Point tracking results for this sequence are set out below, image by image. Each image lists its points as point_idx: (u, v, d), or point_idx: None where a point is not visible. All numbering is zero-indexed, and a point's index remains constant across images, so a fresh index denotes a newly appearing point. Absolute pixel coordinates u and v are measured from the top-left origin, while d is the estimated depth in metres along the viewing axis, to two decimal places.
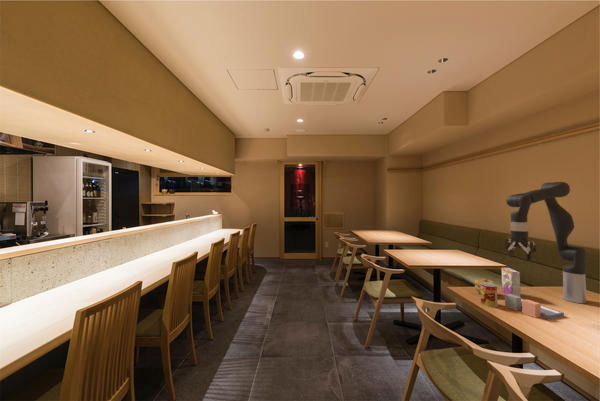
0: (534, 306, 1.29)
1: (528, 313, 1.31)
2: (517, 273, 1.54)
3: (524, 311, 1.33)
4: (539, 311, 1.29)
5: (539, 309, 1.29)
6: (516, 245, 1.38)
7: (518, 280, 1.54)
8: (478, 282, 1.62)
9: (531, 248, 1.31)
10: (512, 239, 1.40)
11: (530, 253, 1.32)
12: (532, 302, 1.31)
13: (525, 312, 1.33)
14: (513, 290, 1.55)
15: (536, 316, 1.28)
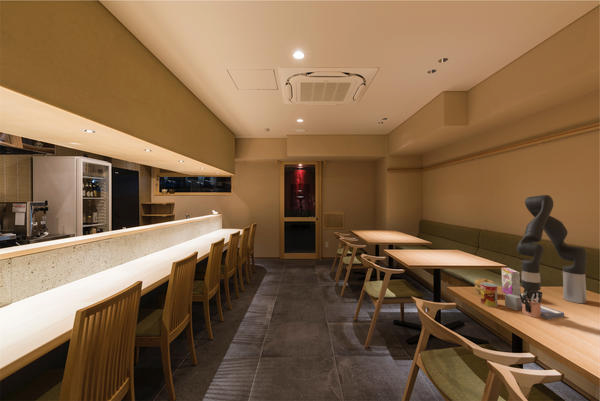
0: (534, 306, 1.29)
1: (528, 313, 1.31)
2: (517, 273, 1.54)
3: (524, 311, 1.33)
4: (539, 311, 1.29)
5: (539, 309, 1.29)
6: None
7: (518, 280, 1.54)
8: (478, 282, 1.62)
9: (540, 298, 1.32)
10: (529, 291, 1.30)
11: None
12: (532, 302, 1.31)
13: (525, 312, 1.33)
14: (513, 290, 1.55)
15: (536, 316, 1.28)
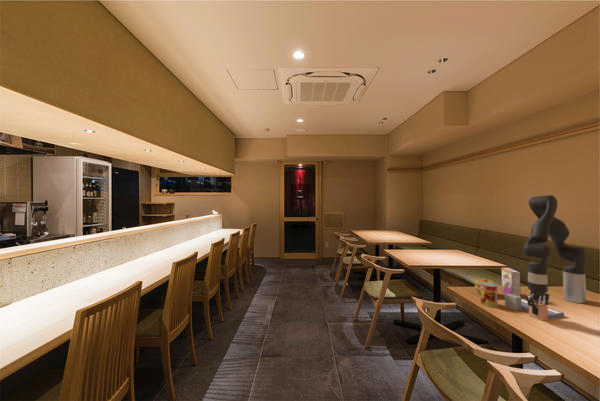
0: (541, 308, 1.26)
1: (535, 316, 1.28)
2: (517, 273, 1.54)
3: (531, 313, 1.30)
4: (546, 314, 1.26)
5: (546, 312, 1.26)
6: None
7: (518, 280, 1.54)
8: (478, 282, 1.62)
9: (547, 300, 1.29)
10: (535, 293, 1.27)
11: None
12: (539, 304, 1.28)
13: (532, 315, 1.30)
14: (513, 290, 1.55)
15: (543, 319, 1.25)
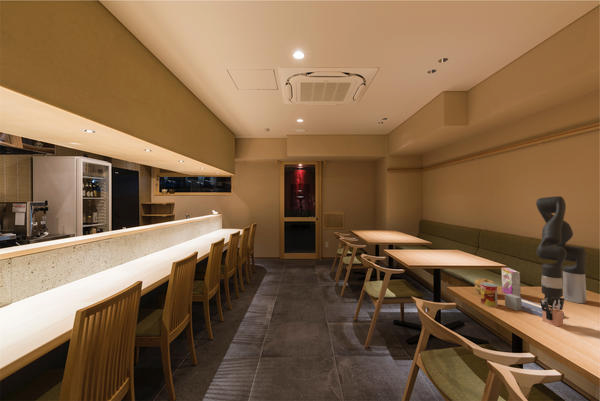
0: (556, 313, 1.20)
1: (549, 321, 1.22)
2: (517, 273, 1.54)
3: (544, 319, 1.24)
4: (561, 319, 1.20)
5: (561, 317, 1.20)
6: None
7: (518, 280, 1.54)
8: (478, 282, 1.62)
9: (562, 305, 1.23)
10: (550, 298, 1.21)
11: None
12: (553, 309, 1.22)
13: (546, 320, 1.24)
14: (513, 290, 1.55)
15: (558, 324, 1.20)
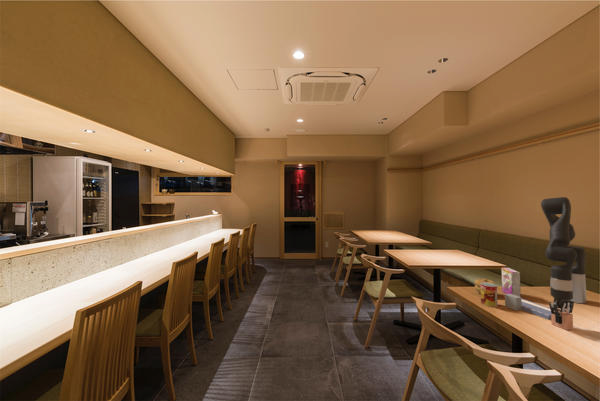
0: (565, 316, 1.16)
1: (558, 325, 1.19)
2: (517, 273, 1.54)
3: (554, 322, 1.21)
4: (571, 323, 1.17)
5: (571, 320, 1.17)
6: None
7: (518, 280, 1.54)
8: (478, 282, 1.62)
9: (572, 308, 1.19)
10: (559, 301, 1.17)
11: None
12: (563, 312, 1.19)
13: (555, 323, 1.20)
14: (513, 290, 1.55)
15: (568, 328, 1.16)
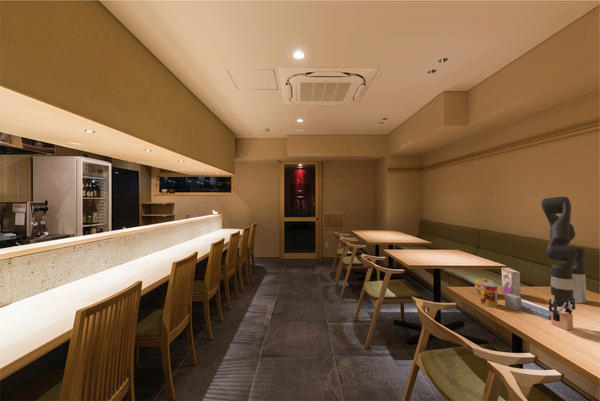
0: (565, 316, 1.16)
1: (558, 324, 1.19)
2: (517, 273, 1.54)
3: (553, 322, 1.21)
4: (571, 322, 1.17)
5: (571, 320, 1.17)
6: None
7: (518, 280, 1.54)
8: (478, 282, 1.62)
9: (574, 304, 1.20)
10: (560, 299, 1.17)
11: None
12: (563, 312, 1.19)
13: (555, 323, 1.20)
14: (513, 290, 1.55)
15: (568, 328, 1.16)
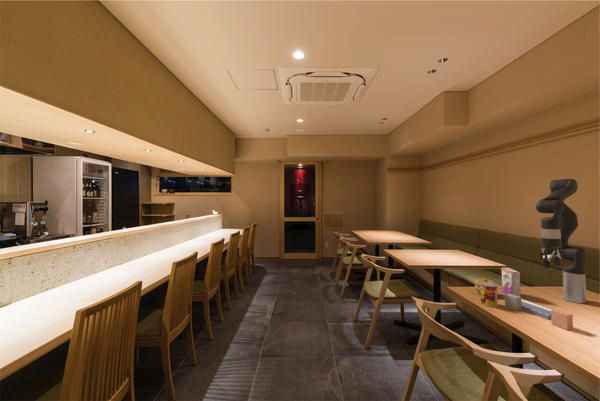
0: (565, 316, 1.16)
1: (558, 324, 1.19)
2: (517, 273, 1.54)
3: (553, 322, 1.21)
4: (571, 322, 1.17)
5: (571, 320, 1.17)
6: None
7: (518, 280, 1.54)
8: (478, 282, 1.62)
9: (562, 253, 1.33)
10: (550, 248, 1.30)
11: None
12: (563, 312, 1.19)
13: (555, 323, 1.20)
14: (513, 290, 1.55)
15: (568, 328, 1.16)
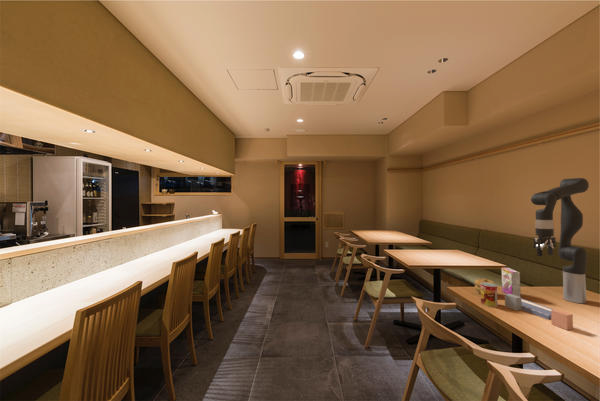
0: (565, 316, 1.16)
1: (558, 324, 1.19)
2: (517, 273, 1.54)
3: (553, 322, 1.21)
4: (571, 322, 1.17)
5: (571, 320, 1.17)
6: None
7: (518, 280, 1.54)
8: (478, 282, 1.62)
9: (555, 243, 1.41)
10: (543, 238, 1.39)
11: None
12: (563, 312, 1.19)
13: (555, 323, 1.20)
14: (513, 290, 1.55)
15: (568, 328, 1.16)
